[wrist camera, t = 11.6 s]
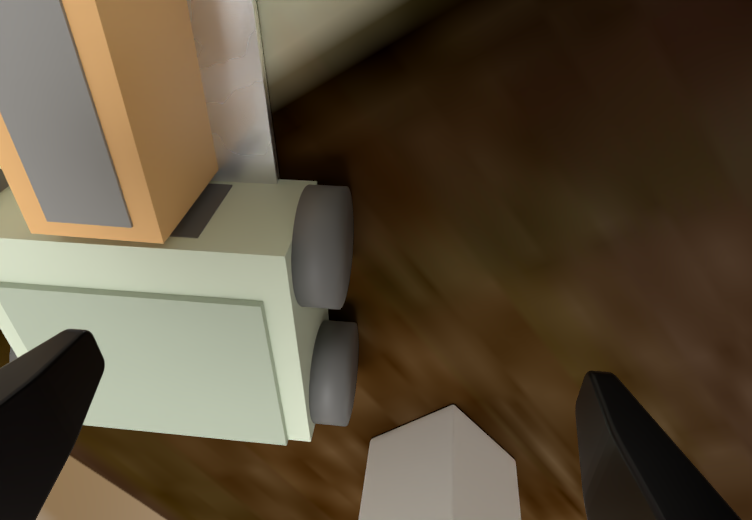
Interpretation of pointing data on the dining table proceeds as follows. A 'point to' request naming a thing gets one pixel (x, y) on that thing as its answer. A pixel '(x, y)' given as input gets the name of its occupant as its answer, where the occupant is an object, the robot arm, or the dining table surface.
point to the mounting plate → (235, 89)
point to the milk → (439, 473)
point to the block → (102, 116)
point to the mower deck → (201, 312)
